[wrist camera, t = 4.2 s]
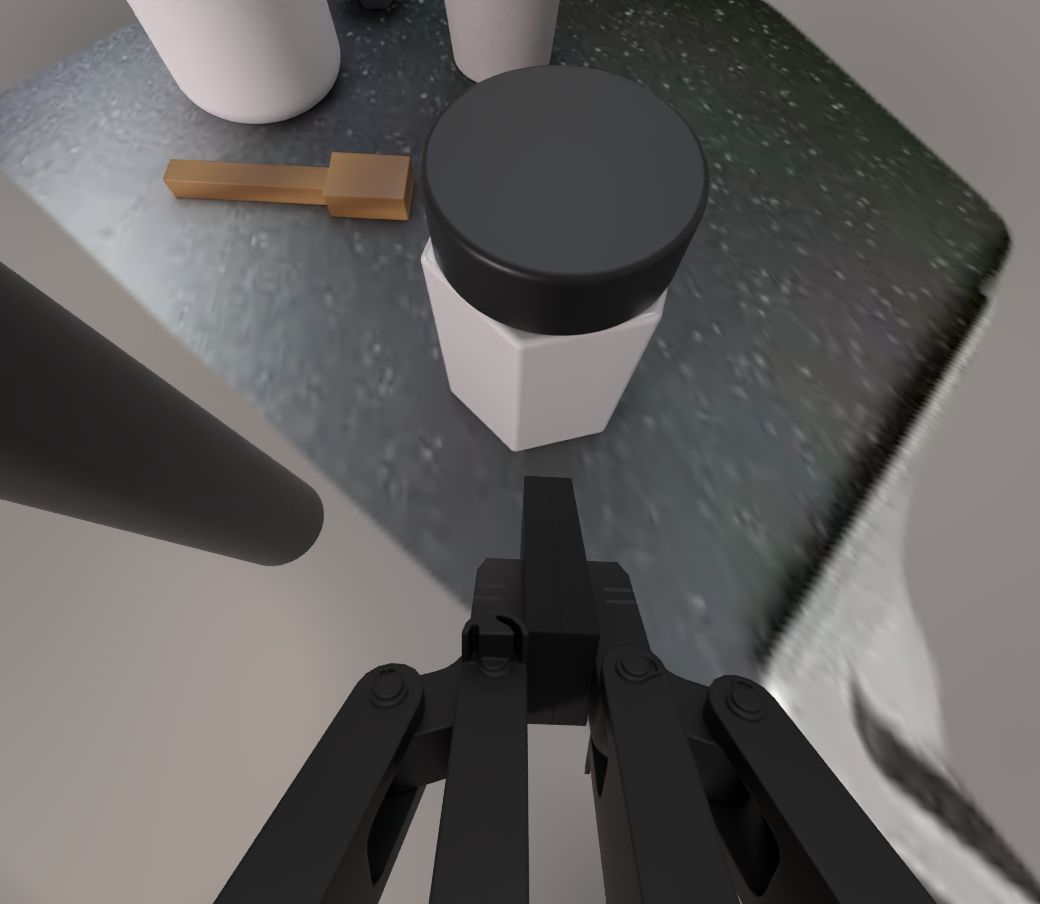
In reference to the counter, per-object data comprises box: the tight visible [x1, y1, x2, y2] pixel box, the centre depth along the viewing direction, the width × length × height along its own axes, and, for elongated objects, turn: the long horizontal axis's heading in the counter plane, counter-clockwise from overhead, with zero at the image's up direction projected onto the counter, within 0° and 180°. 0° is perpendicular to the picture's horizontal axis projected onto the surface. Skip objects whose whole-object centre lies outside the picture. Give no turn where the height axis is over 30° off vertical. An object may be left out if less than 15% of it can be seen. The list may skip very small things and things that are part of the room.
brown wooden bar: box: [163, 152, 415, 220], centre depth 28 cm, size 13×3×2 cm, turn 88°
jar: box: [419, 65, 710, 452], centre depth 19 cm, size 9×8×12 cm
